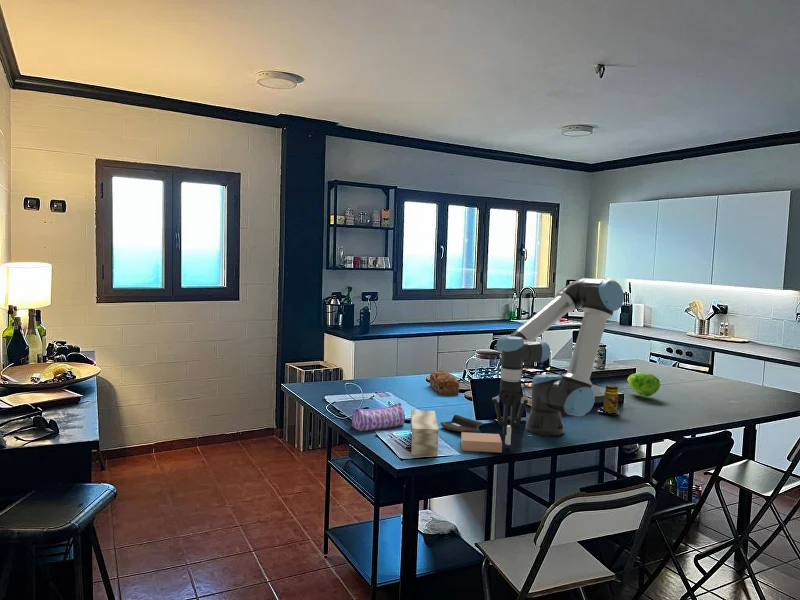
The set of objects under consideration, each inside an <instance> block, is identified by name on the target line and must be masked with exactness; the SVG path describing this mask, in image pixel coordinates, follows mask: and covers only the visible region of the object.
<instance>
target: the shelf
mask: <svg viewBox="0 0 800 600" xmlns="http://www.w3.org/2000/svg"><path fill="white" fill-rule="evenodd" d="M439 430H440V429H439V425H438V421H437V416H436V411H435V410H417V409H416V410H415V409H414V410H410V431H409V432H412V434H411V449H410V451H411V452H410V454H412V456H425V457H426V456H427V457H428V456H429V457H438V455H439V454H438V453H439V451H438V450H439Z"/></svg>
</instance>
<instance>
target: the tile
mask: <svg viewBox="0 0 800 600" xmlns="http://www.w3.org/2000/svg"><path fill="white" fill-rule="evenodd" d="M460 432H461V431H460ZM460 445H461V451H464V452H465V451H468V452H486V453H502V452H503V440H502V438H501V436H500V434H499V433H487V432H485V433H482V432H481V433H480V432H461V433H460Z"/></svg>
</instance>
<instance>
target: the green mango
mask: <svg viewBox="0 0 800 600" xmlns="http://www.w3.org/2000/svg"><path fill="white" fill-rule="evenodd" d="M627 382H628V385H629V386H630V388H631V390H632V391H633V392H635V393H637V394H638V395H641V396H645V397H650V396H653V395H654V394H656V393H657V392H658V391H659V390H660V388H661V382H660V379H659V378H657V377H656V376H655V375H654V374H652V373H650V372H649V373H647V372H635V373H632V374H630V375H629V376H628V377H627Z"/></svg>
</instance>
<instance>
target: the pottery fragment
mask: <svg viewBox="0 0 800 600" xmlns="http://www.w3.org/2000/svg"><path fill="white" fill-rule="evenodd" d="M440 426H441V427H442V428H444V429H447V430H451V431H455V432H467V433H475V432H477V431H478V430H479V427H480V426H483V422H482V421H480V420H475V419H471V418H468V417H464V416H462V415H458V414H454V415H453V417H452V420H450V421H444V422H442V421H441V422H440Z"/></svg>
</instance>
